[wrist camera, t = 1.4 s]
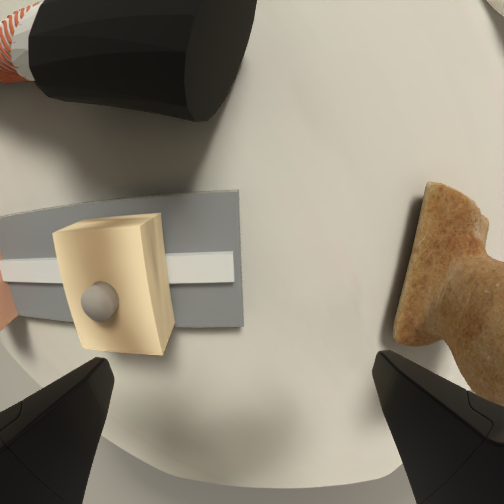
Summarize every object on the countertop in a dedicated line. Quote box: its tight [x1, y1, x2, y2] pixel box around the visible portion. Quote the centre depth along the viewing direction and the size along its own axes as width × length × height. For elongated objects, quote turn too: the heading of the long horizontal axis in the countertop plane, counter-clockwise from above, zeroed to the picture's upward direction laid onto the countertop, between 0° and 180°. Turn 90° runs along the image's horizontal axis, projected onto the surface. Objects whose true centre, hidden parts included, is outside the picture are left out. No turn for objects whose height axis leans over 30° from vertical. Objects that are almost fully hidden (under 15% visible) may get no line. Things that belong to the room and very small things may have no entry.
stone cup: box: [393, 182, 504, 406], centre depth 15 cm, size 15×12×15 cm
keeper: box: [52, 213, 175, 355], centre depth 16 cm, size 6×8×5 cm
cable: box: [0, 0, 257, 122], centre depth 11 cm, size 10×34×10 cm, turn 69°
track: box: [0, 190, 244, 331], centre depth 17 cm, size 26×10×6 cm, turn 91°
